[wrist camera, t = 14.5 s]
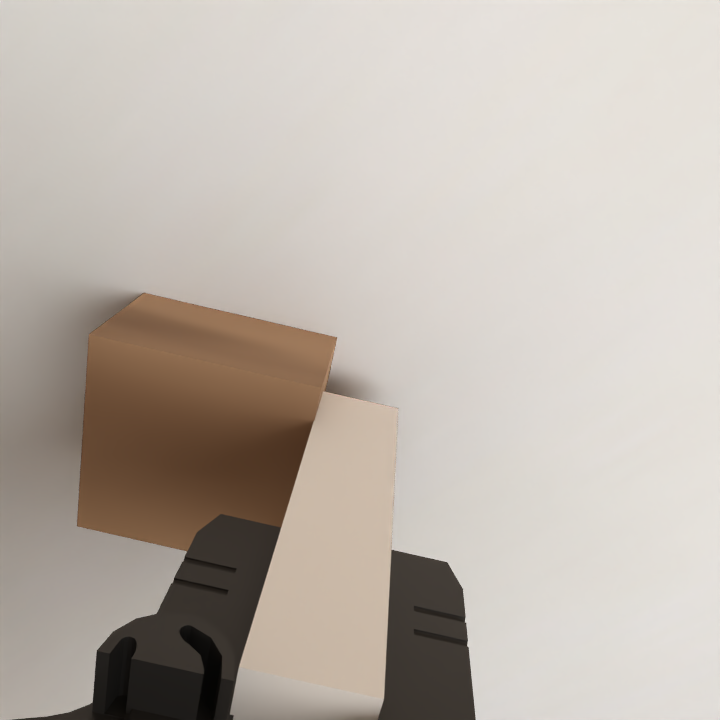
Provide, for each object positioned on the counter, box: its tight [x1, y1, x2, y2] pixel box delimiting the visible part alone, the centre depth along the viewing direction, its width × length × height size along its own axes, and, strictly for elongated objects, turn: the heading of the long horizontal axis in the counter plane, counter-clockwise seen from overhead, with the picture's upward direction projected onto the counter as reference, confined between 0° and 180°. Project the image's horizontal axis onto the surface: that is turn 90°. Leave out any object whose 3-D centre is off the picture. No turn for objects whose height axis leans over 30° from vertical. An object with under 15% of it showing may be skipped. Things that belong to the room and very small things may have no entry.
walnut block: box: [77, 293, 337, 551], centre depth 13 cm, size 4×4×2 cm
